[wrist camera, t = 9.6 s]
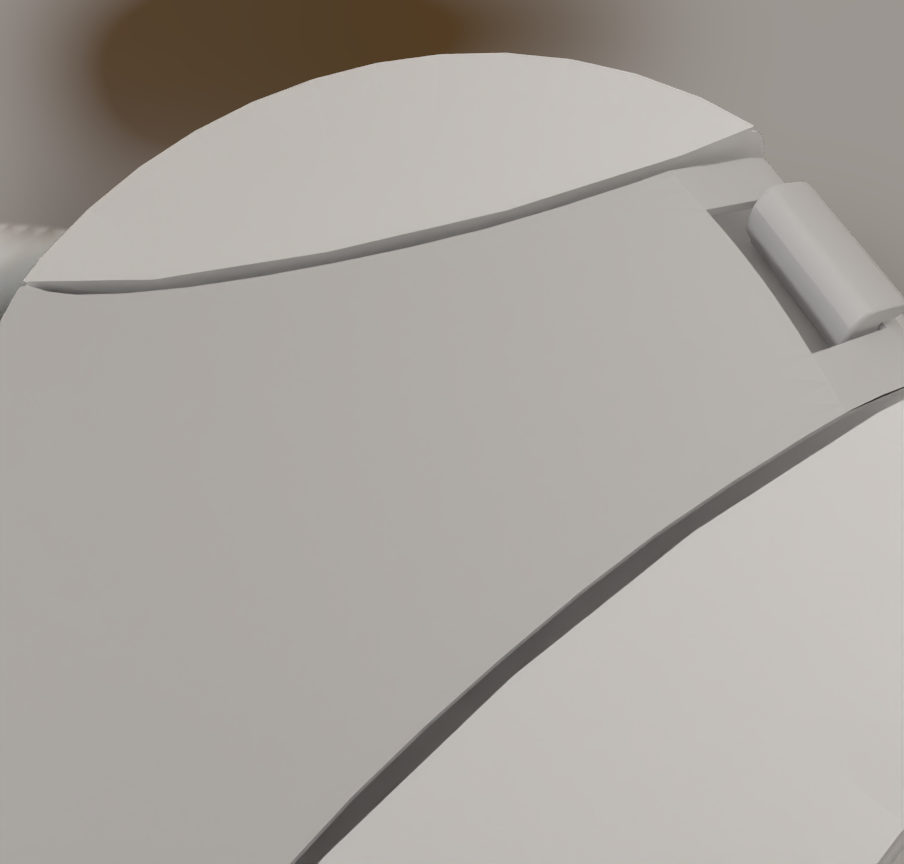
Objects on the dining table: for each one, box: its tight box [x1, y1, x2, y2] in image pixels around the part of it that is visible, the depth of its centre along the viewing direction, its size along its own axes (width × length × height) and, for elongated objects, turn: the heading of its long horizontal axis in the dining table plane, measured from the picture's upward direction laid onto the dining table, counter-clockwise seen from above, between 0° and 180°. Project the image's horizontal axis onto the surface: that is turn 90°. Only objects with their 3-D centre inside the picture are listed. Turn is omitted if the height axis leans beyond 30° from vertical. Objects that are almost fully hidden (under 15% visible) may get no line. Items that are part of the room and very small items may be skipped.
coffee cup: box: [0, 53, 904, 864], centre depth 12 cm, size 8×8×15 cm
